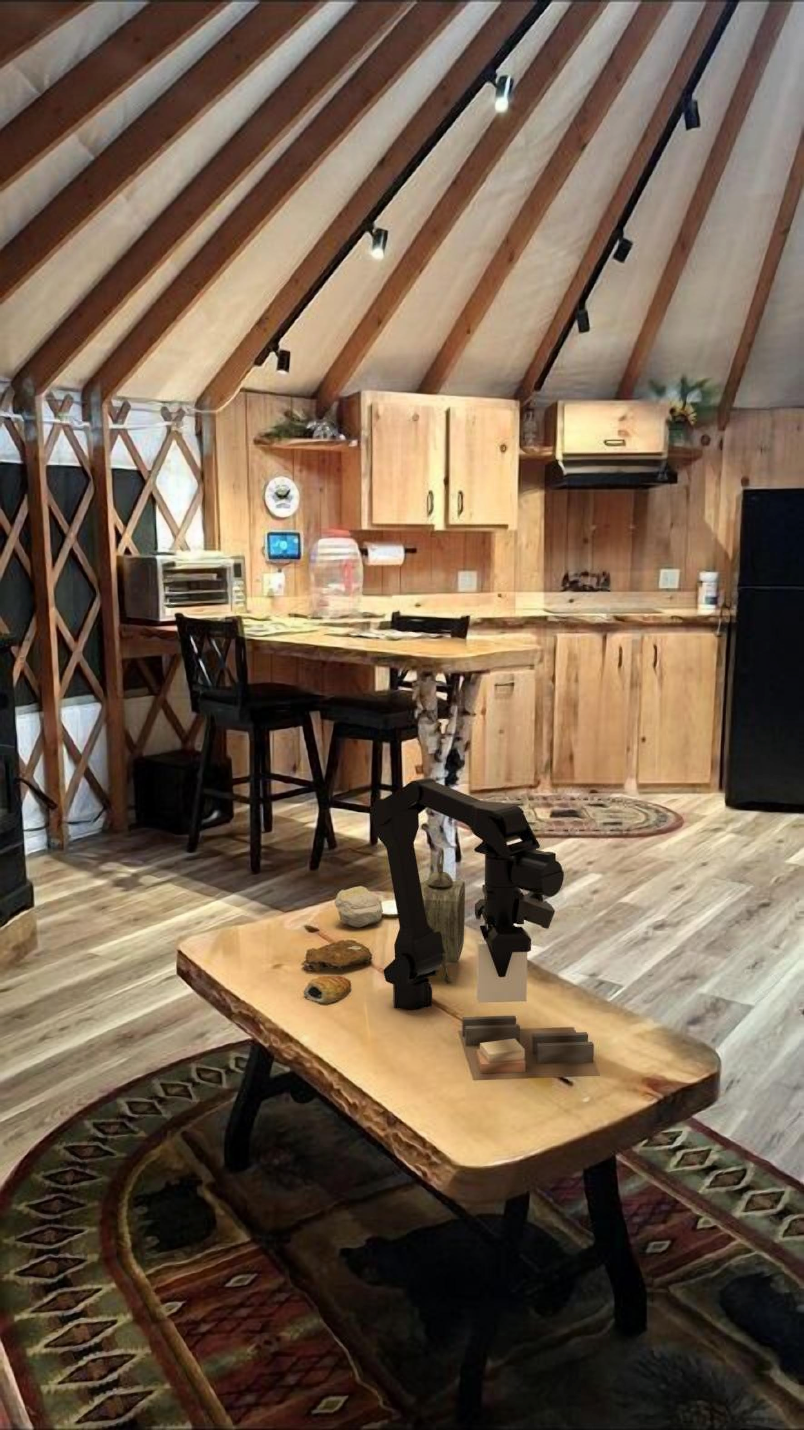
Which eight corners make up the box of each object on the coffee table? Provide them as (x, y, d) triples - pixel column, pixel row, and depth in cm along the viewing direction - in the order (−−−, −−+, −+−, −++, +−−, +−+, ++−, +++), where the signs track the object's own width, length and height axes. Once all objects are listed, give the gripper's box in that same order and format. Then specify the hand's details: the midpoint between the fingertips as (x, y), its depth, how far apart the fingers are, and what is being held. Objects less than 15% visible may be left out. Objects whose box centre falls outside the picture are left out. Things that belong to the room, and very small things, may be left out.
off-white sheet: (478, 1002, 168) (479, 944, 166) (476, 998, 169) (477, 940, 168) (526, 1001, 168) (527, 943, 167) (524, 997, 170) (525, 939, 168)
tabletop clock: (455, 988, 195) (457, 861, 192) (409, 984, 197) (409, 858, 193) (464, 959, 209) (465, 841, 206) (420, 956, 211) (421, 839, 207)
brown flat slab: (325, 985, 198) (382, 967, 208) (327, 965, 197) (383, 948, 207) (289, 965, 206) (345, 949, 216) (290, 946, 205) (346, 931, 215)
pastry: (333, 983, 198) (333, 964, 197) (360, 992, 194) (360, 973, 193) (300, 998, 190) (300, 979, 190) (327, 1008, 186) (327, 988, 186)
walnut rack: (473, 1089, 157) (473, 1061, 156) (457, 1039, 174) (458, 1014, 173) (600, 1084, 159) (601, 1057, 158) (573, 1035, 175) (573, 1010, 175)
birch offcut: (489, 1063, 159) (489, 1054, 159) (479, 1052, 163) (479, 1043, 162) (524, 1058, 161) (524, 1049, 160) (514, 1047, 164) (514, 1038, 164)
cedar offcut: (480, 1073, 159) (481, 1064, 159) (475, 1058, 164) (476, 1049, 164) (525, 1071, 159) (525, 1062, 159) (518, 1056, 164) (519, 1047, 164)
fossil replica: (392, 919, 234) (352, 917, 237) (390, 883, 233) (350, 882, 237) (371, 932, 222) (329, 930, 226) (369, 894, 222) (328, 893, 226)
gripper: (564, 899, 157) (562, 996, 159) (538, 865, 176) (536, 952, 178) (493, 901, 156) (491, 998, 159) (474, 867, 175) (473, 954, 177)
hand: (500, 974), depth 168 cm, fingers closed on off-white sheet, 2 cm apart
